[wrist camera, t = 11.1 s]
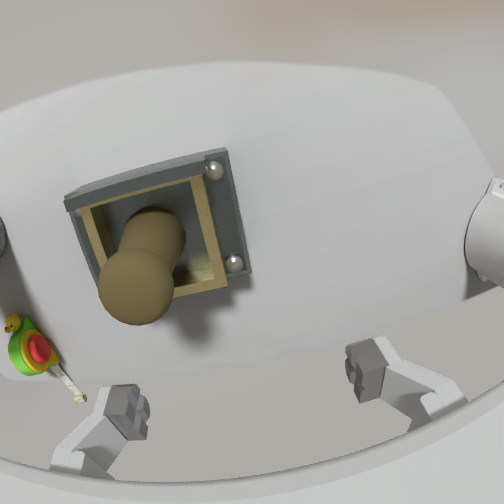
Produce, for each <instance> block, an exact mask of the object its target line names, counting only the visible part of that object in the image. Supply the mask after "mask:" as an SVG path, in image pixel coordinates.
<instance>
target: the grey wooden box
mask: <svg viewBox="0 0 504 504" xmlns="http://www.w3.org/2000/svg"><path fill="white" fill-rule="evenodd" d="M64 198H65V200H64V204H65V208H66V211H67V212H69V214H70V217H71V220H72V223H73V226H74V229H75V232H76V235H77V237H78V240H79V243H80V246H81V248H82V251H83V254H84V256H85V259H86V261H87V264H88V266H89V269H90V271H91V274H92V276H93V279H94V281H95V283H96V286H98V279H99V274H100V271H101V269H102V268H103V266H104V264H105V263H106V261H107V260H108V259H109V258H110V257H111V256H113V255H114V254H115V253H117V251H118V248H119V244H120V241H121V238H122V234H123V231H124V228H125V225H126V222H127V221H128V220H129V218H130V217H131V215H133V214H134V213H135V212H137V211H138V210H140V209H143V208H146V207H160V208H163V209H166V210H169V211H170V212H172V213H173V214H174V215H176V216H177V217H178V219H179V220H180V222H181V223H182V224H183V227H184V230H185V233H186V244H185V246H184V249H183V252H182V254H181V256H180V258H179V260H178V262H177V264H176V266H175V268H174V271H173V273H172V278H173V281H174V295H173V298H175V297H180V296H185V295H189V294H194V293H199V292H203V291H208V290H213V289H217V288H222V287H226V286H228V283H227V278H229V277H234V276H238V275H243V274H247V273H252V270H251V265H250V260H249V255H248V250H247V245H246V240H245V235H244V230H243V225H242V220H241V215H240V210H239V205H238V200H237V195H236V190H235V185H234V180H233V175H232V170H231V165H230V160H229V155H228V150H227V149H226V148H225V147H222V148H218V149H213V150H208V151H204V152H199V153H195V154H191V155H187V156H183V157H178V158H174V159H171V160H167V161H163V162H159V163H155V164H152V165H148V166H144V167H141V168H137V169H134V170H130V171H127V172H124V173H120V174H117V175H114V176H111V177H108V178H104V179H101V180H98V181H95V182H92V183H89V184H86V185H83V186H81V187H80V188H78V189H76V190H74V191H72V192H71V193H69V194H67V195H65V196H64ZM97 288H98V287H97Z"/></svg>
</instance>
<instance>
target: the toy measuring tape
mask: <svg viewBox="0 0 504 504" xmlns="http://www.w3.org/2000/svg"><path fill="white" fill-rule="evenodd" d="M6 325H7V327H5V332H6V333H9V332H10V331H12V332H13V331H14V333H13V335H12V336H11V338H10V341H9V345H8V352H9V357H10V360H11V362H12V363H13V365H14V366H15V368H16V369H17V370H18V371H19V372H21V373H22V374H24V375H27V376H31V375H36V374H41V373H43V372H44V371H46V370H47V369H48V368H49V367H50V369H51V370H52V371H53V372H54V373H55V374H56V375H57V376H59V378H60V379H61V380H62V381H63V382H64V383H65V384H66V385H67V386H68V387H69V389H70V390H72V391H73V393H74V395H75V397H74V399H75V402H76V403H81V402H87V397H86V395H83V393H82V392H81V391H80V390H79V389H78V388H77V387H76V386H75V385H74V384H73V382H72V381H71V380H70V379H69V377H68V376H67V375H66V374H65V373H64V372H63V371H62V369H61V368H60V366H59V365H58V364H59V363H60V358H59V357H58V356H57V354H56V353H55V351H54V350H53V349H52V347H51V346H50V344H49V343H48V341H47V340H46V338H45V337H44V336H43V335H42V334H41V333H40V332H39V331H37V330H36V328H35V327H34V325H33V324H32V322H31V320H30V319H29V317H28V316H26V317H24V318H21V319H20V318H19V317H18V316H17V315H15V314H10V315H8V316H7V318H6Z"/></svg>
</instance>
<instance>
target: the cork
mask: <svg viewBox="0 0 504 504" xmlns="http://www.w3.org/2000/svg"><path fill="white" fill-rule="evenodd" d="M185 244H186V233H185V230H184V227H183V224H182V223H181V222H180V220H179V219H178V217H177V216H176V215H174V214H173V213H172V212H170V211H169V210H166V209H163V208H160V207H146V208H143V209H140V210H138V211H137V212H135V213H134V214H133V215H131V217H130V218H129V220H128V221H127V222H126V225H125V228H124V231H123V234H122V238H121V241H120V244H119V248H118V251H117V253H115V254H114V255H113V256H111V257H110V258H109V259H108V260H107V261H106V263H105V264H104V266H103V268H102V269H101V271H100V274H99V279H98V286H97V287H98V293H99V298H100V300H101V302H102V304H103V306H104V307H105V309H106V310H107V311H108V312H109V313H110V315H111V316H112V317H114V318H116V319H117V320H119V321H120V322H123V323H126V324H129V325H145V324H149V323H152V322H154V321H156V320H157V319H159V318H161V317H162V316H163V315H164V313H165V312H166V311H167V310H168V308H169V307H170V305H171V302H172V299H173V295H174V281H173V278H172V273H173V271H174V268H175V266H176V264H177V262H178V260H179V258H180V256H181V254H182V252H183V249H184V246H185Z"/></svg>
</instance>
